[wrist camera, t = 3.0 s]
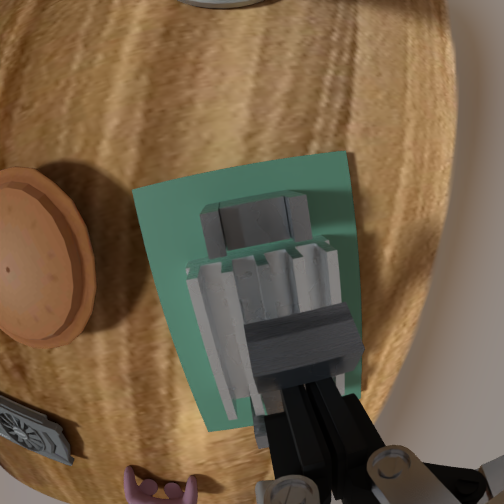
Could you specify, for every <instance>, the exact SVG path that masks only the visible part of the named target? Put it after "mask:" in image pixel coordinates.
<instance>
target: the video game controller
mask: <svg viewBox="0 0 504 504" xmlns="http://www.w3.org/2000/svg"><path fill="white" fill-rule="evenodd" d="M157 490H158V485H157V483H156V482H155V481H153V480H151V479H145V480H144V481H143V482H142V483H141V485H140V486H138V485H137V483H136V480H135V475H134V471H133V469H132V467H131V466H127V467H126V469H125V472H124V491H125V496H126V500H127V501H128V503H129V504H197V498H198V492H197V481H196V478H195V477H194V476H192V475H191V476H190V477H189V478H188V480H187V484H186V488H185V492H183V491H182V490H181V488H180V487H179V485H177V484H176V483H168V484H166V485H165V487H164V491H165V494H166V495H167V496H168V497H169V499H160V498H155V497H152V495H153V494H155V493H156V492H157Z"/></svg>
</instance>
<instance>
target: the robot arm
mask: <svg viewBox="0 0 504 504" xmlns="http://www.w3.org/2000/svg"><path fill="white" fill-rule="evenodd" d="M177 1H180V2H182V3H185V4H189V5H193V6H198V7H206V8H233V7H241V6H246V5H251V4H255V3H258V2H261V1H264V0H177ZM305 387H306V389H305ZM305 387H304V384H302V385H298V386H294V387H289V388H285V389H281V390H280V393H281V399H282V404H283V410H284V412H280V413H275V414H270V415H265V416H264V422H265V427H266V433H267V438H268V444H269V449H270V454H271V460H272V465H273V470H274V476H275V481H273V482H272V483H271V484H270V485H269V486H268V488H267V489H266V490H265V494H264V504H330V502H331V489H332V492H333V495H334V498H335V500H339V499H341V500H342V503H343V504H504V455H503V456H500V457H498V458H496V459H494V460H492V461H490V462H488V463H485V464H483V465H481V466H480V468H478V469H476V470H473V469H466V468H458V467H450V466H443V465H436V464H430V463H424V462H421V461H420V459H419V458H418V457H417V456H416V455H415V454H414V453H413V452H412V451H411V450H409V449H408V448H406V447H404V446H400V445H389V446H385V444H384V442H383V441H382V439H381V437H380V435H379V434H378V432H377V430H376V429H375V427H374V425H373V423H372V421H371V420H370V418H369V416H368V415H367V413H366V411H365V409H364V408H363V406H362V404H361V403H360V401H359V399H358V397H357V396H356V395H355V394H354V393H352V394H349V395H345V396H341V394H340V392H339V390H338V388H337V386H336V384H335V383H334V381H333V379H332V377H329V378H326V379H322V380H318V381H314V382H310V383H306V384H305Z"/></svg>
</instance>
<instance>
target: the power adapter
mask: <svg viewBox="0 0 504 504" xmlns="http://www.w3.org/2000/svg"><path fill="white" fill-rule="evenodd" d="M273 481H275V480H270V481H259V482H257V484H256V487H255V492H256V500H257V504H264V494H265V490H266V489H267V488H268V486H269V485H270V484H271V483H272V482H273Z"/></svg>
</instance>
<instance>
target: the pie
mask: <svg viewBox="0 0 504 504" xmlns="http://www.w3.org/2000/svg"><path fill="white" fill-rule="evenodd" d="M96 290H97V281H96V268H95V256H94V253H93V249H92V245H91V241H90V237H89V233H88V228H87V226H86V224H85V222H84V220H83V219H82V217H81V215H80V213H79V211H78V209H77V207H76V205H75V204H74V202H73V200H72V199H71V198H70V197H69V196H68V195H67V194H66V193H65V192H64V191H63V190H62V189H61V188H60V187H59V186H58V185H57V184H56V183H54V182H53V181H52V180H50V179H49V178H48V177H46V176H45V175H43V174H42V173H40V172H39V171H38V170H36V169H34V168H25V167H16V166H15V167H11V168H8V169H4V170H0V329H1V330H2V331H4V332H5V333H6V334H7V335H9V336H10V337H11V338H13V339H14V340H15V341H17V342H20V343H22V344H25V345H27V346H30V347H32V348H48V349H51V348H55V347H60V346H64V345H68V344H70V343H71V342H72V341H73V340H74V339H75V338H76V337H77V336H78V335H80V334H81V333H82V332H83V330H84V328H85V326H86V324H87V322H88V320H89V318H90V316H91V314H92V313H93V307H94V301H95V295H96Z"/></svg>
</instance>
